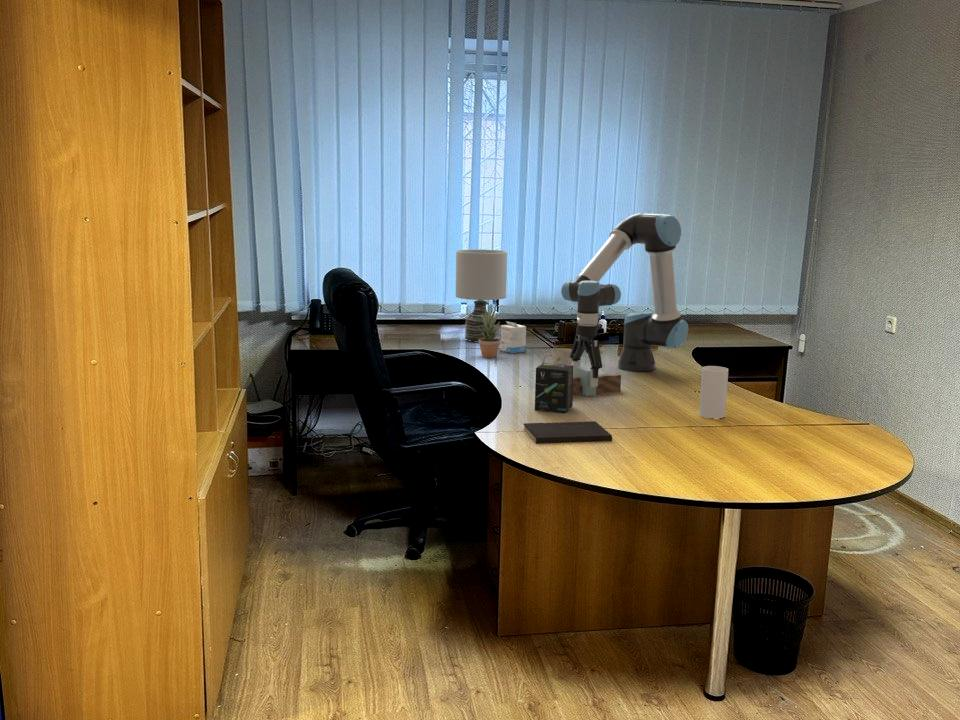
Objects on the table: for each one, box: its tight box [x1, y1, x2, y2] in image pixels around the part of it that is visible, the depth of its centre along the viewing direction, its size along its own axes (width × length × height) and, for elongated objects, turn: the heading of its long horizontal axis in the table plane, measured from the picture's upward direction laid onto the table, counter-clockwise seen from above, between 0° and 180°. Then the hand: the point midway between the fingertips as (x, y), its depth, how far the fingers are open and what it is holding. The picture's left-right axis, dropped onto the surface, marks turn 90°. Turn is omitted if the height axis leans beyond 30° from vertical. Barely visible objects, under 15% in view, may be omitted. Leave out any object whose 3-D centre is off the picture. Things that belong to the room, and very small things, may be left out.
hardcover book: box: [522, 420, 613, 445], centre depth 265 cm, size 16×23×2 cm
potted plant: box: [477, 300, 501, 358], centre depth 383 cm, size 10×10×25 cm
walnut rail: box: [573, 372, 622, 396], centre depth 320 cm, size 28×3×6 cm, turn 111°
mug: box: [541, 347, 573, 365], centre depth 349 cm, size 8×13×10 cm, turn 78°
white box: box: [500, 320, 527, 354], centre depth 396 cm, size 9×8×13 cm
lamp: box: [455, 248, 508, 341], centre depth 420 cm, size 24×24×42 cm
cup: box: [698, 365, 729, 419], centre depth 289 cm, size 8×8×16 cm
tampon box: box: [534, 362, 574, 414], centre depth 295 cm, size 11×9×15 cm
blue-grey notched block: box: [574, 364, 597, 397], centre depth 319 cm, size 4×10×9 cm, turn 21°
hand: (584, 382), depth 319 cm, fingers open, 13 cm apart
